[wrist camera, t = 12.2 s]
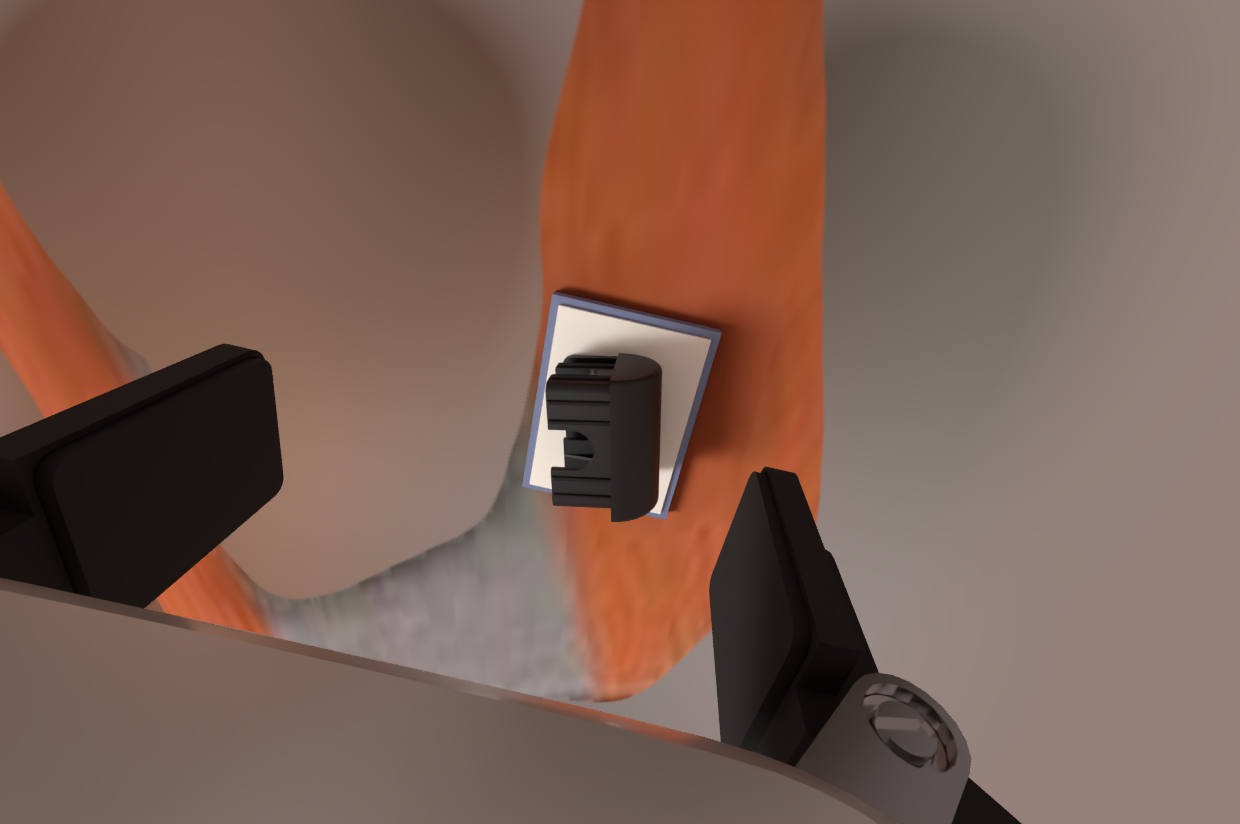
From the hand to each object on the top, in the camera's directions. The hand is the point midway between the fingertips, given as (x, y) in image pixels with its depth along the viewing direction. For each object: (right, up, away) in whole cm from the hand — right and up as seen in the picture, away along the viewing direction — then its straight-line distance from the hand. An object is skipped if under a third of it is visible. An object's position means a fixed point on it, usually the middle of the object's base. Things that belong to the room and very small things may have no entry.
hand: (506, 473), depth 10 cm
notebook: (+2, +1, +30) cm, 30 cm away
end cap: (+2, +1, +29) cm, 29 cm away
